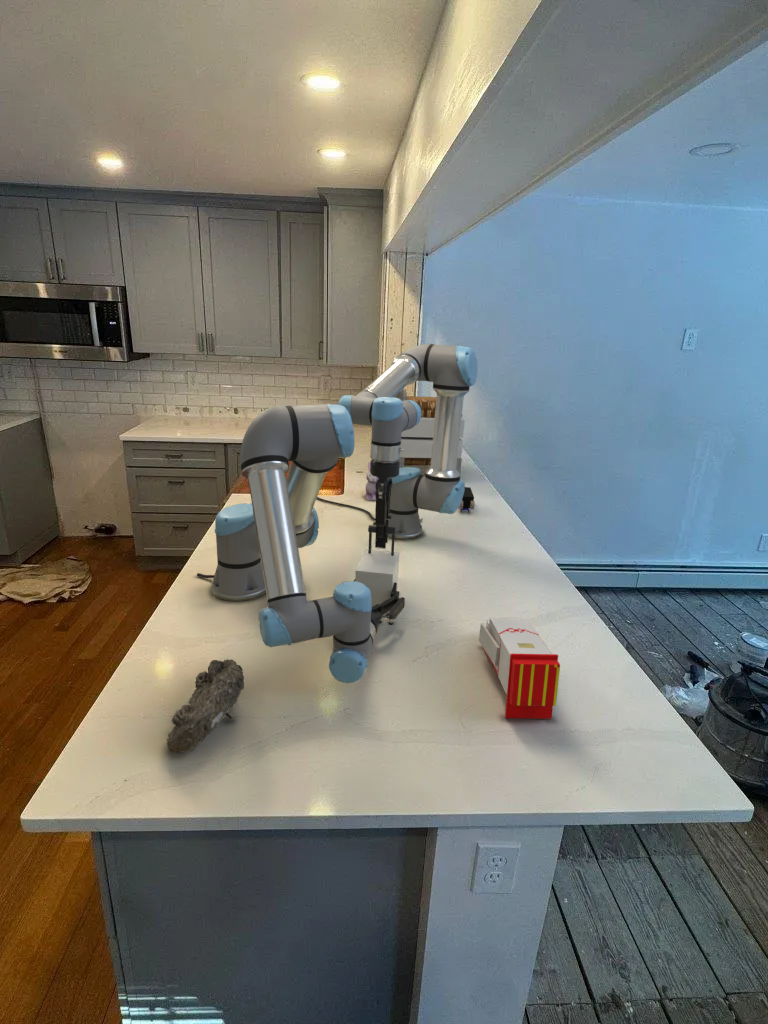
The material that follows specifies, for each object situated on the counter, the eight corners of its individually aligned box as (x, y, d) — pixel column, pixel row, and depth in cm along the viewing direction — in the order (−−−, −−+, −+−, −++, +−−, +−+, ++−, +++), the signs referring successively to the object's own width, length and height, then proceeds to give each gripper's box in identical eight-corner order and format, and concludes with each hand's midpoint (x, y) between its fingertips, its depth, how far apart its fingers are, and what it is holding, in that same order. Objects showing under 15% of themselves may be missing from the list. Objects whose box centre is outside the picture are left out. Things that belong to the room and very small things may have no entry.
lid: (364, 553, 156) (366, 521, 153) (399, 556, 155) (401, 525, 152) (355, 575, 143) (356, 541, 140) (392, 579, 142) (394, 544, 139)
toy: (525, 603, 136) (569, 660, 107) (520, 654, 139) (562, 725, 109) (475, 601, 135) (505, 659, 106) (471, 653, 138) (499, 724, 109)
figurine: (369, 502, 230) (370, 466, 225) (359, 494, 239) (360, 460, 234) (390, 499, 234) (391, 464, 229) (378, 492, 243) (380, 458, 238)
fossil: (192, 660, 117) (244, 628, 112) (224, 691, 120) (276, 661, 115) (142, 746, 98) (202, 712, 93) (182, 779, 101) (242, 748, 96)
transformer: (382, 463, 289) (386, 382, 275) (445, 464, 293) (451, 384, 279) (390, 482, 257) (394, 392, 243) (460, 483, 261) (468, 394, 247)
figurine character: (474, 518, 222) (469, 501, 235) (476, 500, 218) (471, 485, 232) (457, 517, 222) (452, 501, 235) (459, 500, 218) (454, 484, 232)
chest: (363, 589, 159) (364, 554, 156) (397, 593, 158) (399, 557, 154) (354, 613, 147) (355, 575, 143) (390, 617, 146) (392, 579, 142)
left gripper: (311, 639, 129) (333, 593, 150) (408, 650, 127) (417, 602, 147) (311, 610, 127) (334, 567, 148) (410, 621, 124) (419, 576, 145)
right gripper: (395, 469, 136) (391, 558, 144) (403, 453, 151) (398, 535, 159) (365, 466, 137) (362, 555, 145) (375, 451, 152) (372, 532, 160)
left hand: (375, 585), depth 148 cm, fingers closed on chest, 9 cm apart
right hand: (381, 544), depth 152 cm, fingers open, 3 cm apart
